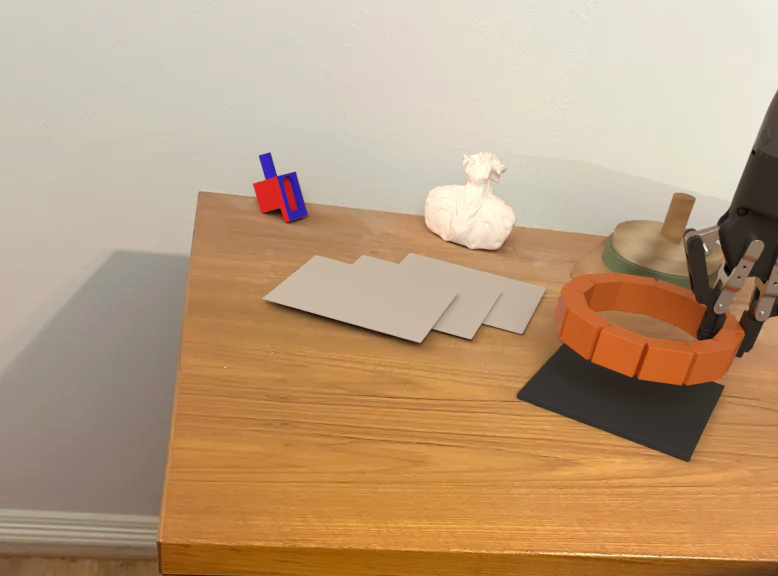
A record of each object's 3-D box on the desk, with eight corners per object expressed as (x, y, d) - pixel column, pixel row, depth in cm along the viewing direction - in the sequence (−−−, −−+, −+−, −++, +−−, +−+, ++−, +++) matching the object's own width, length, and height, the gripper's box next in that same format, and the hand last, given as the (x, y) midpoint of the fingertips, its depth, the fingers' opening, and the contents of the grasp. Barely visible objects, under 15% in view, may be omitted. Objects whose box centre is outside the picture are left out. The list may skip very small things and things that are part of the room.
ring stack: (736, 279, 110) (768, 199, 104) (710, 322, 98) (745, 235, 92) (609, 240, 115) (633, 163, 109) (570, 277, 103) (594, 192, 97)
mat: (722, 390, 85) (725, 385, 85) (688, 462, 73) (691, 456, 73) (570, 338, 90) (572, 333, 89) (516, 398, 78) (517, 392, 78)
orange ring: (747, 342, 81) (760, 313, 79) (702, 405, 70) (716, 372, 68) (591, 288, 87) (600, 259, 85) (526, 337, 76) (535, 305, 74)
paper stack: (345, 235, 104) (345, 230, 103) (546, 288, 99) (547, 282, 99) (261, 304, 86) (262, 298, 86) (502, 372, 81) (504, 365, 81)
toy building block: (284, 221, 109) (265, 155, 106) (308, 215, 107) (289, 146, 104) (265, 227, 107) (245, 159, 104) (289, 221, 104) (269, 151, 101)
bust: (506, 269, 108) (542, 185, 108) (497, 246, 101) (535, 155, 100) (421, 242, 112) (455, 160, 111) (406, 218, 105) (443, 130, 104)
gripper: (874, 152, 70) (783, 345, 81) (707, 123, 70) (638, 321, 81) (910, 179, 64) (806, 383, 75) (727, 148, 64) (650, 357, 75)
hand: (719, 350), depth 78 cm, fingers closed on orange ring, 2 cm apart
